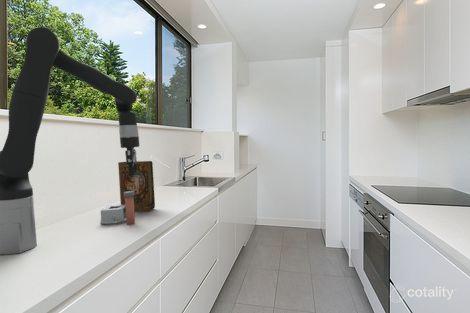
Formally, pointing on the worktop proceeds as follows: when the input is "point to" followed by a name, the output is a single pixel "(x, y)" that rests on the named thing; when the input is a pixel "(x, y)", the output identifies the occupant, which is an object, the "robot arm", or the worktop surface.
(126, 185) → the book
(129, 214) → the pin
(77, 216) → the worktop surface
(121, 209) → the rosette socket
